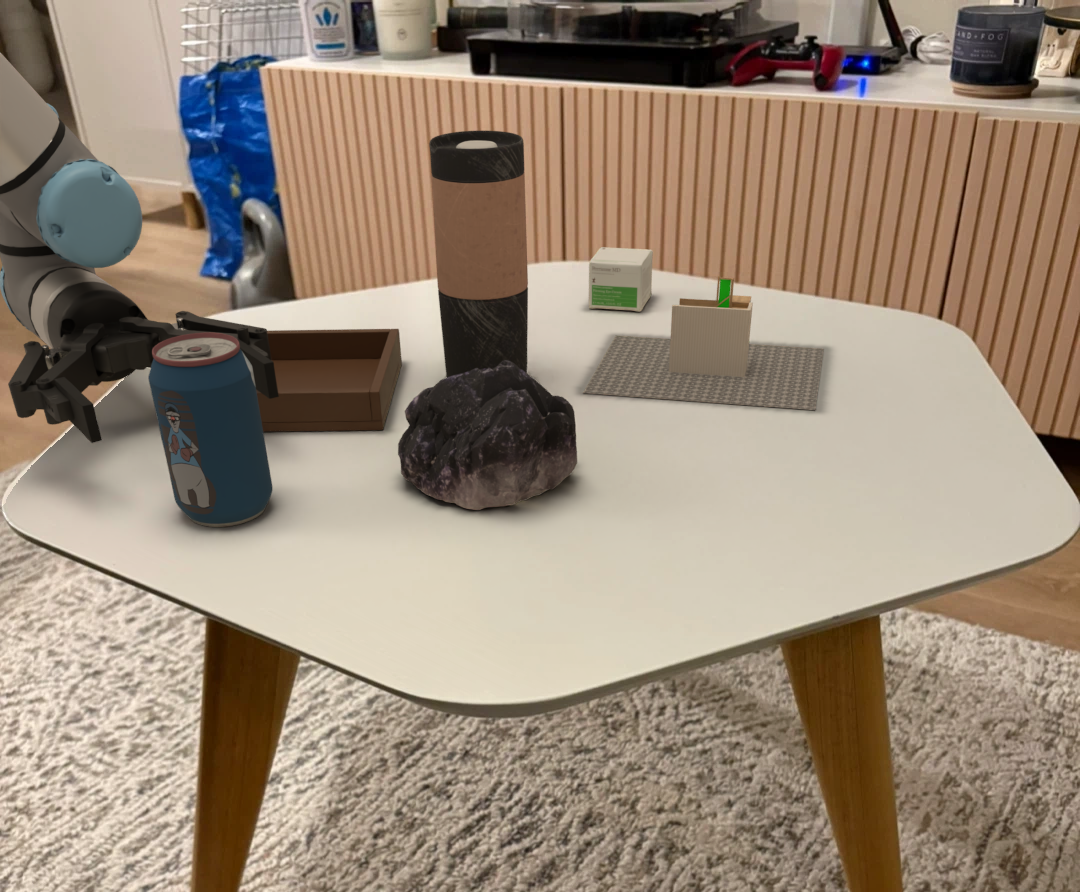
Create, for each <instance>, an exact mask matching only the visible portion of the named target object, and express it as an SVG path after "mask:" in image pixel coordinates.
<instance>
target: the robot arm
mask: <svg viewBox="0 0 1080 892" xmlns="http://www.w3.org/2000/svg"><path fill="white" fill-rule="evenodd" d="M142 229H143V212H142V206H141V204H140V200H139V198H138V196H137V194H136V192H135V190H134V189H133V187H132V186H131V184H130V183H129V182H128V181H127V180H126V179H125V178H124V177H122V175H120V173H118V171H117V170H116V169H115V168H114V167H112V166H110V165H108V164H107V163H105V162H104V161H100V160H99V159H98V158H97V157H96V156H95V155H94V154H93V153H92V152H91V151H90V149H88V147H86V145H85V144H84V143H83V142H82V141H81V139H79V137H78V136H77V135H76V134H75V133H74V132H73V130H71V129H70V128H69V127H68V126H67V125H66V123H64V122H63V121H62V119H60V116H59V112H58V111H57V109H56V108H55V107H54V106H53V105H51V104H50V103H48V102H46V101H45V100H44V99H43V97H41V96H40V94H39V93H38V92H37V91H36V90H35V89H34V88H33V86H32V85H31V84H30V83H29V82H28V81H27V80H26V78H24V77H23V75H21V73H20V72H19V71H18V70H17V69H16V68H15V67H14V65H12V63H11V62H10V61H9V60H8V59H7V58H6V57H5V56H4V54H3V53H1V51H0V262H1V269H0V294H1V296H2V298H3V301H4V302H5V304H6V306H7V308H8V310H9V311H10V313H11V314H12V315H14V317H15V319H16V320H17V322H19V323H20V324H21V326H22V327H24V328H25V329H26V330H27V331H29V332H31V333H33V335H34V336H36V337H37V338H38V339H40V340H41V341H42V342H43V343H44V344H43V345H41V343H40V342H39V341H35V340H29V341H27V342H25V343H23V348H24V353H25V355H24V356H23V358H22V359H21V361H20V363H19V364H18V367H17V368H16V369H15V371H14V373H13V375H12V377H11V378H10V380H9V382H8V385H7V386H8V389H9V392H10V395H11V399H12V402H13V405H14V410H15V412H16V415H17V417H18V418H21V419H27V418H31V417H32V416H34V415H36V414H35V413H36V412H37V410H43V413H44V416H45V420H46V423H47V424H48V425H59V424H62V423H65V422H68V421H69V422H70V423H71V424H72V425H73V426H74V427H75V428H76V429H77V430H78V431H79V432H80V433H81V434H82V435H83V436H84V437H85V438H86V439H87V440H88V441H89V442H90V443H91V444H94V443H99V442H102V441H103V437H102V434H101V430H100V426H99V422H98V418H97V414H96V410H95V406H94V403H93V402H92V401H90V399H89V398H88V397H86V395H84V394H83V392H84V391H85V390H87V389H88V387H90V386H93V387H94V386H97V387H98V386H99V385H100V384H101V383H102V382H103V383H109V382H117V381H119V380H123V379H124V378H127V377H128V376H130V375H132V374H133V373H134V372H136V370H138V371H144V370H145V369H148V368H150V369H151V365H152V362H153V359H154V358H153V355H152V350H153V348H154V347H155V346H156V345H157V344H158V343H160V342H162V341H164V340H167V339H170V338H173V337H176V336H181V335H186V334H194V333H207V332H211V333H221V334H226V335H230V336H232V337H234V338H236V339H237V340H238V341H239V344H240V349H241V351H242V352H243V353H244V355H245V356H246V358H247V359H248V360H249V362H250V363H251V365H252V368H253V374H254V380H255V386H256V390H258V391H259V392H261V393H262V394H263V395H265V396H266V397H268V398H269V399H272V398H276V397H279V395H278V389H277V382H276V376H275V369H274V363H273V361H271V353H270V346H269V340H268V334H267V331H268V329H267V328H264V327H260V326H254V325H248V324H243V323H238V322H231V321H227V320H221V319H215V318H210V317H204V316H199V315H196V314H194V313H192V312H190V311H187V310H181V311H177V312H176V313H175V320H176V322H174V323H170V322H165V321H164V322H163V321H156V320H150V319H148V317H147V316H146V314H145V313H144V312H143V311H142V309H141V308H140V306H139V305H138V304H137V303H136V302H135V301H133V300H132V299H131V298H130V297H128V296H127V295H126V294H125V293H123V292H121V291H120V290H119V289H117V288H116V287H114V286H113V285H111V284H110V283H109V282H108V281H106V280H105V279H103V278H102V277H100V276H98V275H97V272H96V269H103V268H108V267H112V266H115V265H117V264H118V263H120V262H122V261H123V260H125V259H126V258H127V257H128V256H130V255H131V253H132V251H133V250H134V249H135V247H136V246H137V244H138V242H139V240H140V237H141V234H142Z"/></svg>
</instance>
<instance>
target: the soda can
mask: <svg viewBox="0 0 1080 892" xmlns="http://www.w3.org/2000/svg"><path fill="white" fill-rule="evenodd" d="M152 355H153V358H154V359H153V362H152V365H151V368H150V369H149V372H148V383H149V387H150V392H151V396H152V397H151V398H152V402H153V407H154V410H155V415H156V419H157V424H158V429H159V433H160V438H161V444H162V447H163V452H164V456H165V462H166V466H167V469H168V470H167V471H168V475H169V479H170V484H171V488H172V493H173V497H174V501H175V503H176V505H177V506H178V507H179V509H180V510H181V512H183V513H184V515H186V516H187V517H188V518H189V519H190V520H191V521H192V522H193V523H195V524H198V525H200V526H204V527H212V528H224V527H226V528H227V527H232V526H238V525H241V524H245V523H247V522H251V521H253V520H255V519H256V518H258V517H259V516H260V515H263V513H264V511H265V510H266V508H267V505H268V503H269V501H270V499H271V496H272V493H273V481H272V475H271V469H270V463H269V458H268V451H267V446H266V439H265V434H264V433H265V432H263V427H262V421H261V416H260V410H259V404H258V398H257V392H256V386H255V380H254V374H253V368H252V365H251V363H250V362H249V360H248V359H247V358H246V356H245V355H244V353H243V352H242V351H241V349H240V344H239V341H238V340H237V339H236V338H234V337H232V336H230V335H226V334H221V333H211V332H207V333H194V334H186V335H181V336H176V337H173V338H170V339H167V340H164V341H162V342H160V343H158V344H157V345H156V346H155V347H154V348H153V350H152Z"/></svg>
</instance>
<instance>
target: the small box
mask: <svg viewBox="0 0 1080 892" xmlns="http://www.w3.org/2000/svg"><path fill="white" fill-rule="evenodd" d="M653 255H654V251H653V250H652V249H645V248H627V247H625V248H624V247H609V246H601V247H599V249H598V250H597V252H595V254H594V255H593V257H592V258H590V260H589V263H588V308H589V309H593V310H595V309H601V310H602V309H604V310H616V311H617V310H619V311H633V312H640V313H641V312H642V310H643V309H644V307H645V306H646V304H647V302H648V301H649V300H650V298H651V296H652V290H653V289H652V286H653V285H652V281H653Z"/></svg>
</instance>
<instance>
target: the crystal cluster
mask: <svg viewBox="0 0 1080 892" xmlns="http://www.w3.org/2000/svg"><path fill="white" fill-rule="evenodd" d="M404 415H405V419H406V421H407V424H408V427H407V429H406V430H405V431H404V432H403V434H402V436H401V437H400V439H399V441H398V444H397V455H398V458H399V461H400V474H401V475H402V477H403V478H404V479H405V481H408V482H409V483H411V484H412V485H414V486H415V487H416V489H418V490H420V491H421V492H422V493H423V494H425V495H427V496H430V497H431V498H434V499H435V500H440V501H443V502H445V503H450V504H451V503H452V504H456V506H459V507H460V508H464V509H467V510H474V511H481V510H483V509H486V508H497V507H506V506H511V505H515V504H518V503H519V502H522V501H526V500H527V501H528V499H530V498H533V497H535V496H539V495H542V494H543V493H545V492H547V491H549V490H554V489H555V488H556V487H558V486H559V485H560V483H562V482H563V481H564V480H565V479H566V478H567V477H570V475H571V474H572V473H573V472H574V471H575V468H576V465H577V464H578V449H577V431H576V418H575V417H576V415H575V410H574V406H573V405H572V404H571V403H570V402H569V401H568V400H567V399H566V398H565V397H564V396H560V395H552V393H551V392H549V391H548V390H547V388H545V387H544V386H543V385H542V384H541V383H539V382H538V381H537V380H536V378H534V377H532V376H531V375H530V374H528V372H527V373H526V372H525V371H523V370H521V369H520V368H519V367H518V366H517V365H515V364H514V363H513V362H511V361H509V360H503V361H502V362H501V363H500V364H499V365H498V366H496V367H495V368H493V369H491V368H488V369H487V368H484V369H478V368H475V369H473V370H471V371H468V372H465V373H461V374H457V375H453V376H450V377H448V378H447V377H445V378H443V379H440V380H438V381H437V383H435V384H434V385H433V386H429V387H426V388H424V389H422V390H421V392H419V394H417V395H416V396H415V397H413V398H412V400H411V401H410V403H409V404H408V405H407V406H406V408H405V410H404Z"/></svg>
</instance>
